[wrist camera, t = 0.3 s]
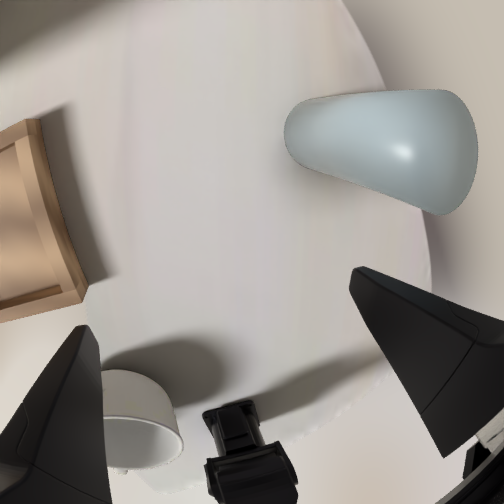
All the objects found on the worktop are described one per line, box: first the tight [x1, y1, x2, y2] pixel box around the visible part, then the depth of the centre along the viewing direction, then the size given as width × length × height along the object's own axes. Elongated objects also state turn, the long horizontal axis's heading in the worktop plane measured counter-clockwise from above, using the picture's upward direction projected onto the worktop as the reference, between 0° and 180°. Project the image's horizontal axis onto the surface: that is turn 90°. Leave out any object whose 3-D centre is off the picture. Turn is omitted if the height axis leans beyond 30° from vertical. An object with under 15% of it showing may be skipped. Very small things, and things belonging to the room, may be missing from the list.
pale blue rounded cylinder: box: [284, 90, 478, 215], centre depth 16 cm, size 6×6×13 cm
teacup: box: [101, 370, 183, 475], centre depth 23 cm, size 14×11×8 cm
